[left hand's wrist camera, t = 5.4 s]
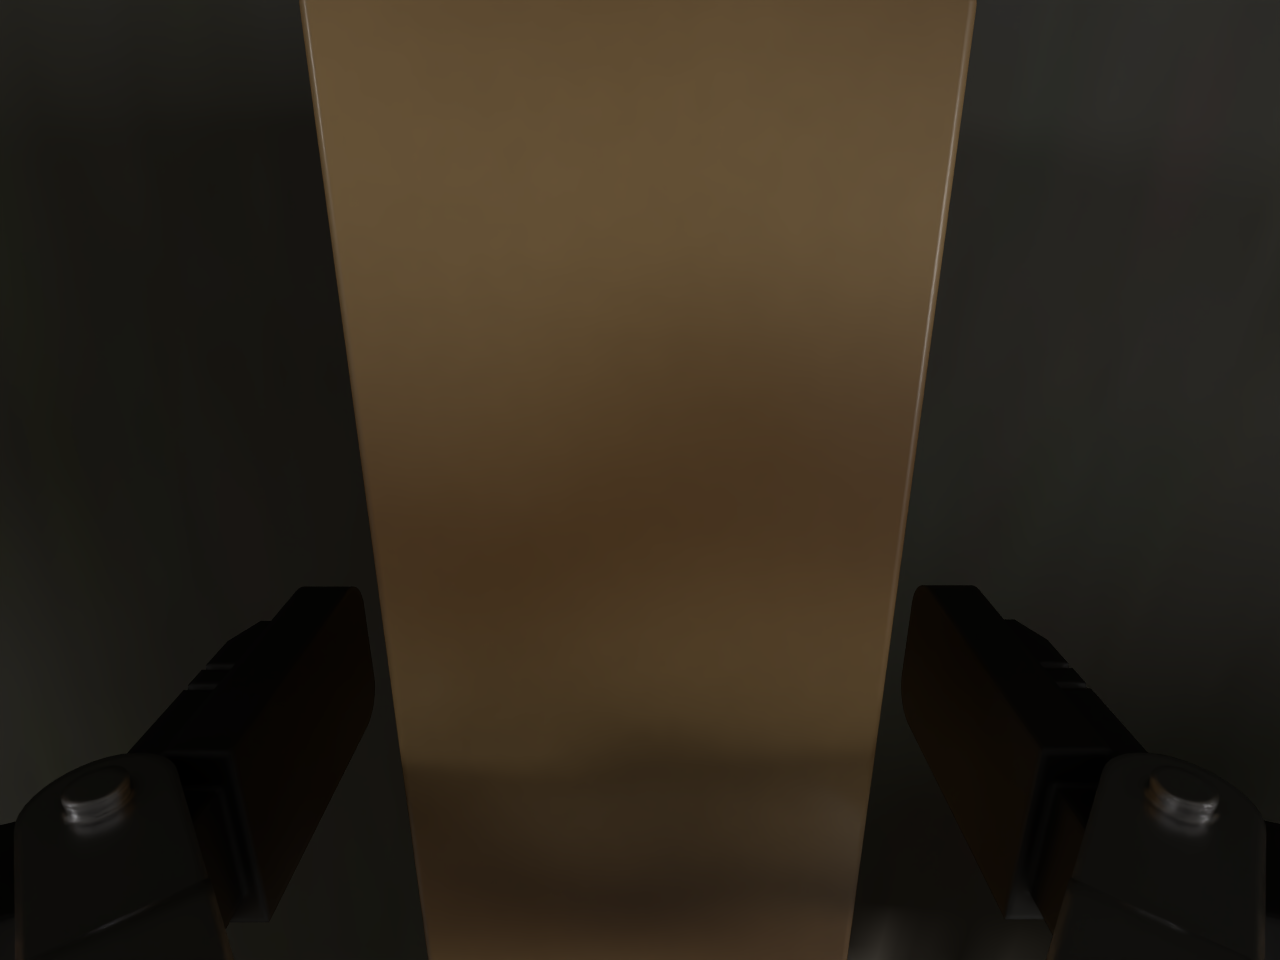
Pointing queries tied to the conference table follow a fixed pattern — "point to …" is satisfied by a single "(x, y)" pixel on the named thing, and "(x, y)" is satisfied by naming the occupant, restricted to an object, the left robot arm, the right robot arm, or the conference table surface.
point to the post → (637, 442)
